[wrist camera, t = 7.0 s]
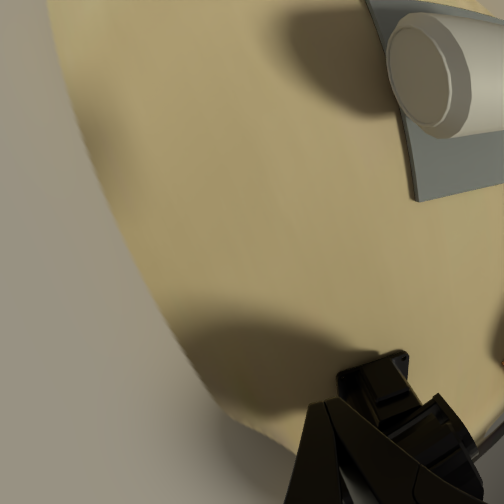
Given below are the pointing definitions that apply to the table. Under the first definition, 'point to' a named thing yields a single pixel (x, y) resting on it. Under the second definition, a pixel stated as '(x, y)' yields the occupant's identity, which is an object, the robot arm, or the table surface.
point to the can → (448, 73)
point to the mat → (442, 150)
